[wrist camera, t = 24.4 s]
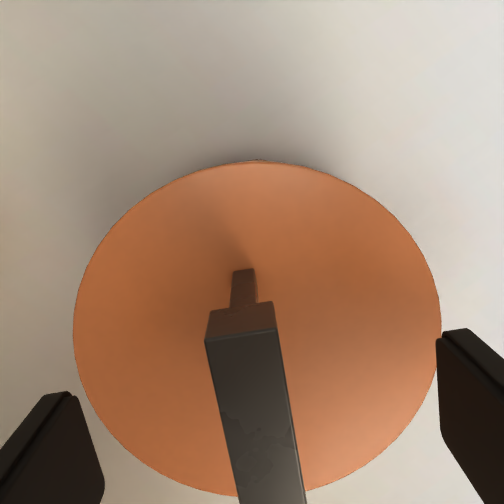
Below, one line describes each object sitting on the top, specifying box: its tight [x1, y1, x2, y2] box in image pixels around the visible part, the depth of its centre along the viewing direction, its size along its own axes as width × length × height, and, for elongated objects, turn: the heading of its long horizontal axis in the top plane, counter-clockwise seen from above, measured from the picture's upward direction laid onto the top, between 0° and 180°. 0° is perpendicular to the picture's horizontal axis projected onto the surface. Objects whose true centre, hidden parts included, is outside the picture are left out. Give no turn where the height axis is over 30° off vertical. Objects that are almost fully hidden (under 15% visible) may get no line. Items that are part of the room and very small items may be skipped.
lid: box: [73, 161, 441, 504], centre depth 12 cm, size 12×12×6 cm
